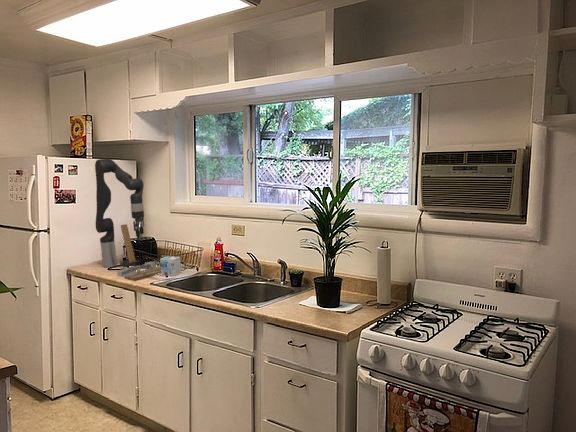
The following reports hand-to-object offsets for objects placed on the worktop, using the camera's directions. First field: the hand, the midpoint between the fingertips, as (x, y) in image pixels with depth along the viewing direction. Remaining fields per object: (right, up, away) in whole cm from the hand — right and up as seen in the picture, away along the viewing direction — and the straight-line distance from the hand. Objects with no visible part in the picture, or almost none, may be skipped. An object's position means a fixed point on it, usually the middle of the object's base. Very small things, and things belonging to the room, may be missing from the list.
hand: (140, 235), depth 304 cm
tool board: (+6, -25, -1) cm, 25 cm away
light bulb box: (+21, -25, -5) cm, 33 cm away
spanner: (-4, -24, +7) cm, 25 cm away
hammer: (-11, -23, +19) cm, 32 cm away
